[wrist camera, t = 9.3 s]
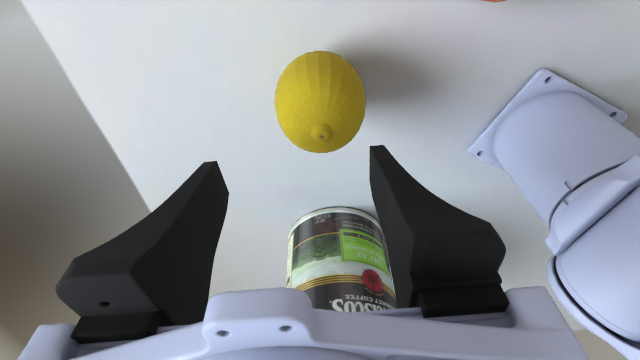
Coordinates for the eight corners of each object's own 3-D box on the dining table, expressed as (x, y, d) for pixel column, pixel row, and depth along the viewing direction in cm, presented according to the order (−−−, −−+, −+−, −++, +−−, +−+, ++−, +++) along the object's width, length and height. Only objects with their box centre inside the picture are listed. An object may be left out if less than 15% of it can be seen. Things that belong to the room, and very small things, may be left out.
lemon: (291, 22, 21) (284, 72, 15) (370, 50, 22) (393, 106, 16) (271, 98, 24) (258, 163, 18) (340, 118, 25) (350, 186, 19)
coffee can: (317, 192, 30) (321, 349, 20) (402, 226, 34) (446, 376, 23) (270, 251, 36) (255, 399, 25) (348, 276, 40) (363, 414, 29)
